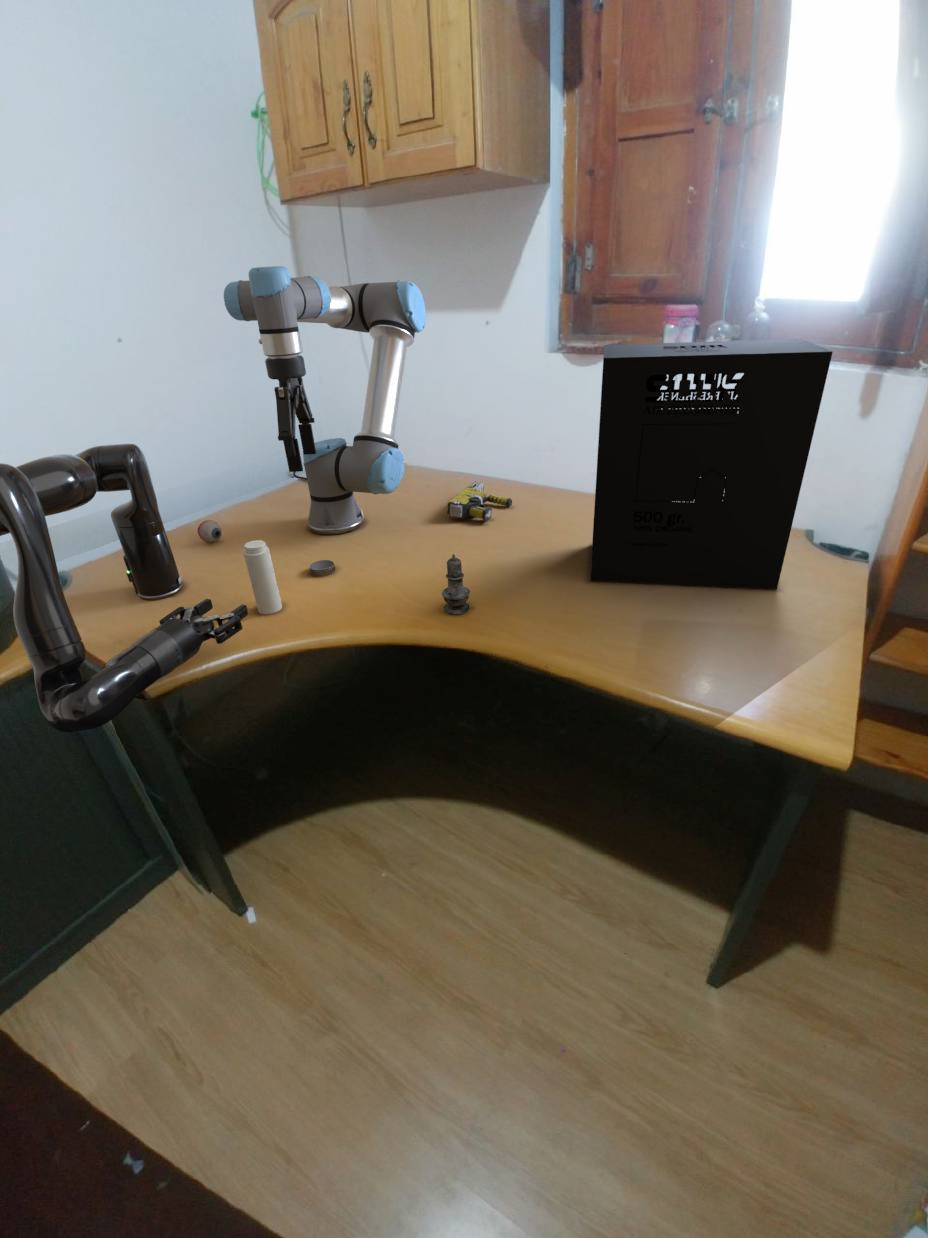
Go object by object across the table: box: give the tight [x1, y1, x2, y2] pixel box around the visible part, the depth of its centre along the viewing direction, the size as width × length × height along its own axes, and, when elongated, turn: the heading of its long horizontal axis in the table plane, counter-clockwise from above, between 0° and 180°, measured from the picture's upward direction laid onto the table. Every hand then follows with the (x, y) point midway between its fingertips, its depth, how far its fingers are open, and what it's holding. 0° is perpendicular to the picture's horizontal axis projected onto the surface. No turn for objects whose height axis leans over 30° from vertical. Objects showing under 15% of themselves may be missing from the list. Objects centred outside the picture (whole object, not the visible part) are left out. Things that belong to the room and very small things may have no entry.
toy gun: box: [446, 480, 513, 523], centre depth 174 cm, size 5×24×15 cm
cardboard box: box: [589, 338, 834, 590], centre depth 125 cm, size 38×20×45 cm, turn 78°
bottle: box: [243, 539, 283, 615], centre depth 125 cm, size 5×5×15 cm
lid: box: [309, 559, 336, 577], centre depth 143 cm, size 6×6×2 cm
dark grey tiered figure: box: [441, 553, 471, 615], centre depth 121 cm, size 6×6×12 cm
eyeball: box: [197, 519, 223, 544], centre depth 161 cm, size 6×6×6 cm
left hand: (227, 605), depth 116 cm, fingers open, 8 cm apart
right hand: (303, 462), depth 131 cm, fingers open, 13 cm apart
